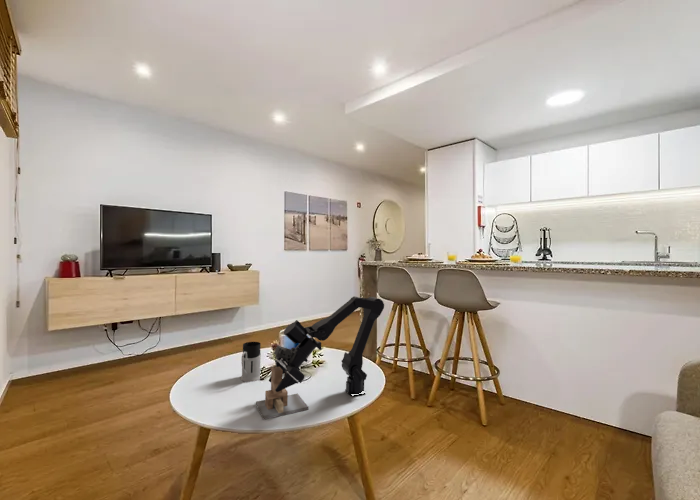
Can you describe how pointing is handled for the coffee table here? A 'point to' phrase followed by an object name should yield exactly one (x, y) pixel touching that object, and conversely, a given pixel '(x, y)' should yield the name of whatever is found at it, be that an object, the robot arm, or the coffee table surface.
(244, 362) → the glass holder
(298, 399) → the cross plate base
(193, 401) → the coffee table surface
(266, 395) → the wooden block
